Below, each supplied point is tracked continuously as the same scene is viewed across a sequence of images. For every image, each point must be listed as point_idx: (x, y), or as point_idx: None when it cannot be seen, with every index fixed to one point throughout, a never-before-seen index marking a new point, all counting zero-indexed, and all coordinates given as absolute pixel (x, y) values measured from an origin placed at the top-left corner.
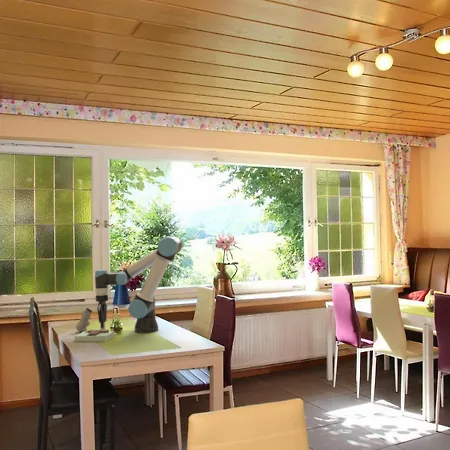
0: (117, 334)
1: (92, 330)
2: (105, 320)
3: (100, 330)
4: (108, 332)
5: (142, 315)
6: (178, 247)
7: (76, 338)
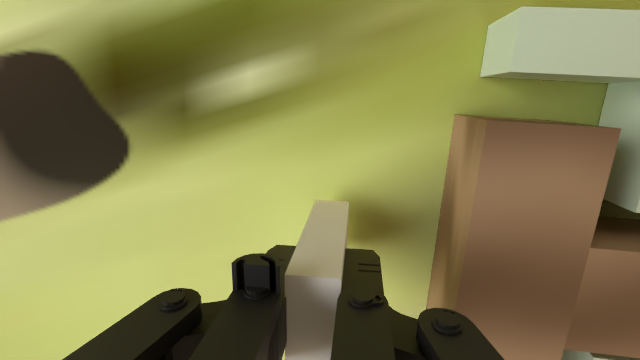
0: (339, 17)
1: None
2: (256, 291)
3: (545, 250)
4: (485, 118)
5: None
6: None
7: None
